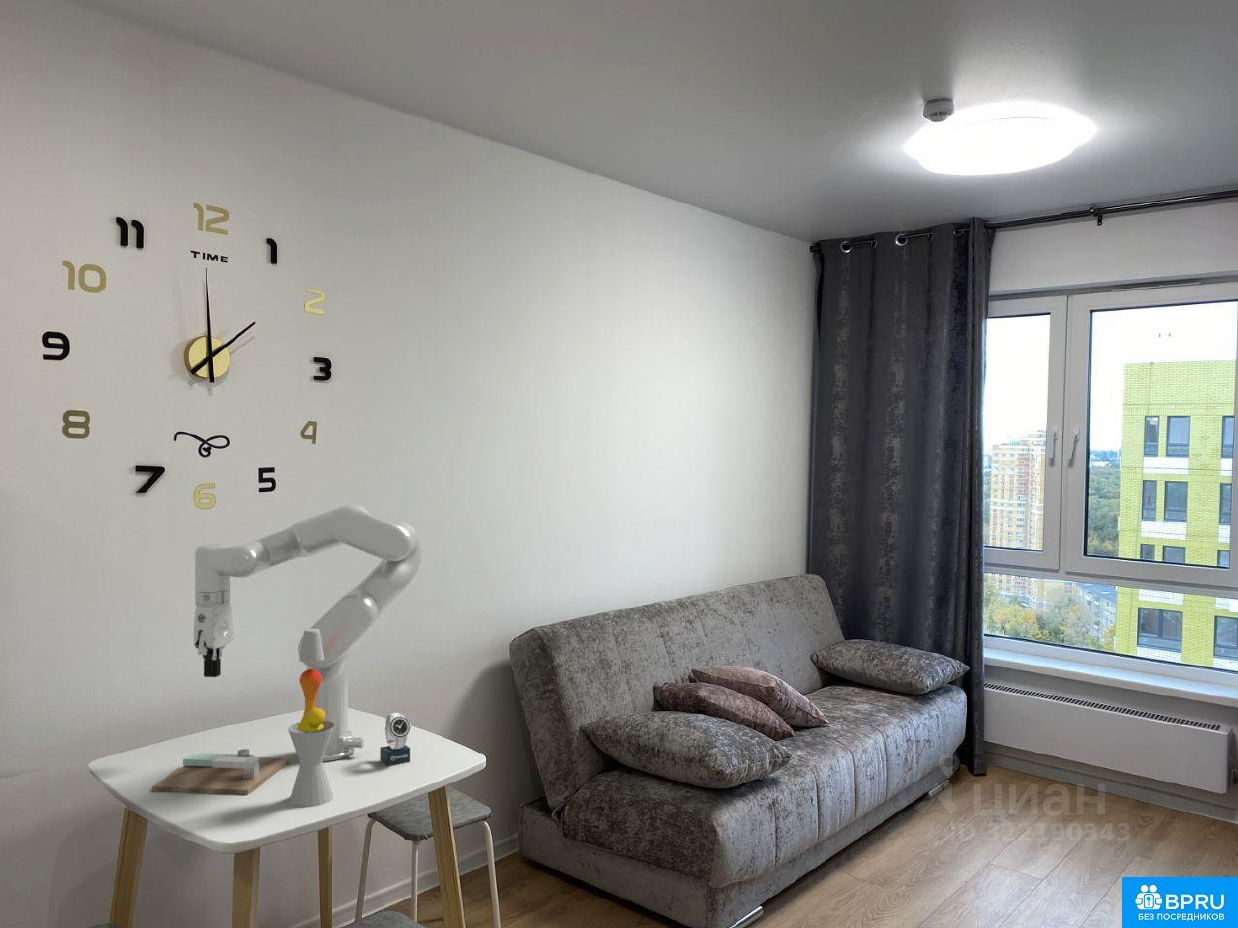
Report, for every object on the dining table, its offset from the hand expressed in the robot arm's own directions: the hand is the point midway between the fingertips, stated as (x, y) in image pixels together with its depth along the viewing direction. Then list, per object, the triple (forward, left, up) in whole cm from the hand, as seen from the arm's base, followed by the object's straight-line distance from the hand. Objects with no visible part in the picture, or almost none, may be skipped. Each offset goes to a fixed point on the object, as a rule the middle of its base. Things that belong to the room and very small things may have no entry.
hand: (212, 675), depth 215 cm
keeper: (-13, +14, -19) cm, 27 cm away
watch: (-44, -1, -19) cm, 48 cm away
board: (-9, +12, -19) cm, 24 cm away
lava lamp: (-34, +23, -19) cm, 45 cm away
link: (-6, +8, -18) cm, 20 cm away
